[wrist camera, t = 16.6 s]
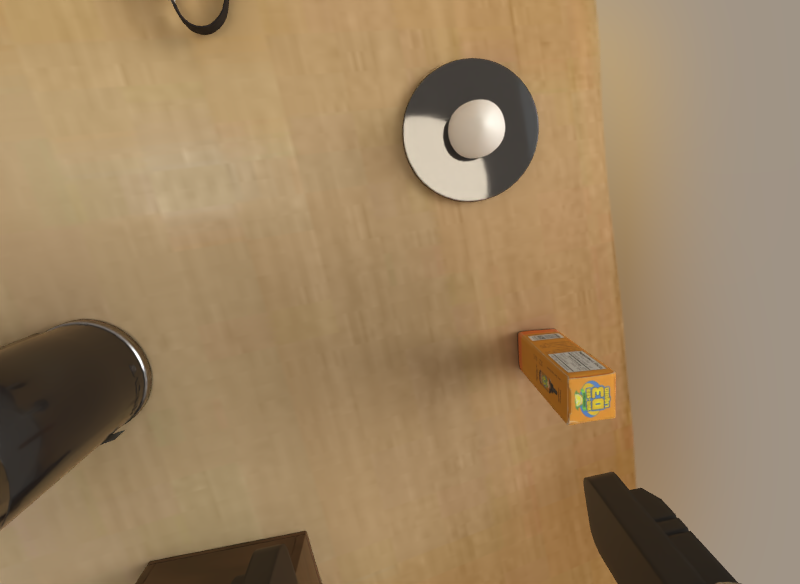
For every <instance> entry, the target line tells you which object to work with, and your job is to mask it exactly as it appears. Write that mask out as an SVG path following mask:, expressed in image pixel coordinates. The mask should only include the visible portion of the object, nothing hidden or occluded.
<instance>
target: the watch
mask: <svg viewBox="0 0 800 584" xmlns="http://www.w3.org/2000/svg"><path fill="white" fill-rule="evenodd" d="M168 1H169V0H168ZM171 2H172V4H173V6H174V8H175V10H176V12H177V14H178V15H179V17H180V18H181V20H182V21H183V23H184V24H185V25H186V26H187V27H188V28H189V29H190V30H192V31H193V32H195V33H198V34H202V35H207V34H212V33H214V32H216V31H217V30H218V29H220V27H221V26H222V25H223V24H224V22H225V20H226V17H227V13H228V6H229V0H224V4H223V9H222V11H221V13H220V15H219V16H218V17H217V18H216V20H215V21H213V22H212V23H211V24H209V25H206V26H196V25H193V24H191V23H189V22H188V21H187V20H186V19H184V18H183V16H182V15H181V14H180V12H179V10H178V8H177V5H176V4H175V0H171Z"/></svg>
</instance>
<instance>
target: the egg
mask: <svg viewBox="0 0 800 584" xmlns="http://www.w3.org/2000/svg"><path fill="white" fill-rule="evenodd" d="M504 133H505V121H504V117H503V114H502V112H501V110H500V109H499V107H498V106H497V105H496V104H494V103H493V102H491V101H489V100H484V99H481V100H472V101H469V102H467V103H465V104H463V105H461V106H460V107H459V108H458V109H457V110H456V111H455V112H454V113H453V115H452V116H451V119H450V121H449V126H448V135H449V140H450V143H451V145H452V147H453V149H454V150H455V151H456V152H457V153H458V154H459V155H461V156H463V157H465V158H480V157H483V156H486V155H488V154H490V153H492V152H493V151H494V150H495V149H496V148H497V147H498V146H499V145H500V143H501V142H502V140H503V137H504Z"/></svg>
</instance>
